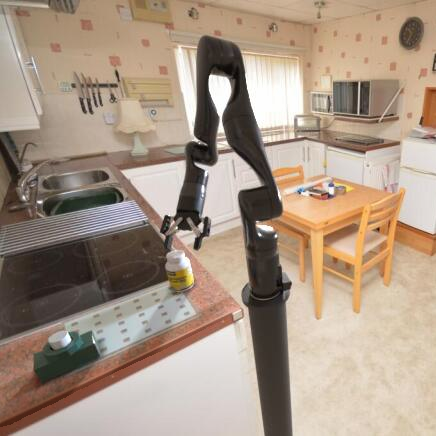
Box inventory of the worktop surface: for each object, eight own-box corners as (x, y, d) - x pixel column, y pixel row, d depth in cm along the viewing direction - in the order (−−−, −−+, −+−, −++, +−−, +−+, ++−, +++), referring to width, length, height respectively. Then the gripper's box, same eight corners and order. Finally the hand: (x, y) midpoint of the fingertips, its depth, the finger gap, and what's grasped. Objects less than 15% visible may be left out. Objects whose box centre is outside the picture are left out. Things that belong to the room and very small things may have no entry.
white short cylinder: (71, 335, 64) (67, 328, 63) (72, 344, 62) (68, 337, 61) (52, 343, 62) (47, 335, 61) (52, 353, 60) (48, 345, 59)
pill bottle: (166, 291, 86) (157, 258, 81) (180, 277, 92) (172, 246, 87) (186, 294, 85) (178, 261, 80) (198, 280, 91) (192, 249, 86)
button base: (97, 341, 70) (88, 322, 67) (100, 358, 66) (92, 339, 63) (41, 365, 64) (29, 346, 61) (41, 385, 60) (29, 366, 57)
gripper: (218, 204, 95) (209, 253, 90) (176, 202, 96) (164, 251, 91) (209, 195, 88) (199, 247, 83) (163, 193, 89) (150, 245, 83)
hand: (181, 249), depth 87 cm, fingers open, 8 cm apart
